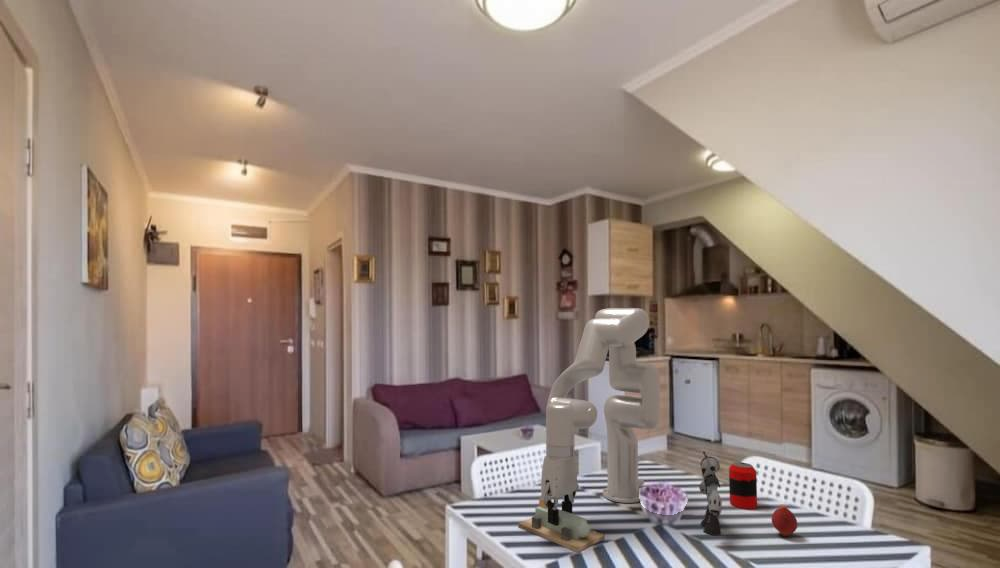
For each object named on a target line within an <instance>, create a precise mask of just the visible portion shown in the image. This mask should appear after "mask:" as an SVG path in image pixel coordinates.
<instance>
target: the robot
mask: <svg viewBox="0 0 1000 568" xmlns="http://www.w3.org/2000/svg"><path fill="white" fill-rule="evenodd" d="M703 456H704V458H703V459H702V460H701V461H700V463H699V465H700V469H701V477H702V478H703V480H702V481H701V482H700V484H699V489H698V490H699V491H700V493H701V494H704V495H706V499H707V505H706V510H705V513H704V518H703V519H702V520H701V521H700V525H701V527H703V531H702V533H704V534H707V535H709V536H720V535H721V534H722V530H721V528H722V527H721V523H720V520H719V518H718V517H720V516H721V513H722V504H723V501H722V498H721V496H720V493H718V488H721V485H720V481H719V479H718V477H717V475H716V473H717V472H719V470H721V469H720V468H721V467H720V462H719V461H718V459H716V458H715V457H713V456H708V455H707V454H706V452H705V451H703Z"/></svg>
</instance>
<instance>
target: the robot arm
mask: <svg viewBox="0 0 1000 568" xmlns="http://www.w3.org/2000/svg"><path fill="white" fill-rule="evenodd" d="M649 326H650V317H649V315H648V313H647V312H646V310H645V309H643V308H638V307H636V308H635V307H629V308H628V307H627V308H626V307H608V308H603V309H600V310H598V311H597V312H596V313H595V315H594V318H591V319H590V320H589V321H587V322H586V324H585V325H584V330H583V332H582V335H581V339H580V342H579V346H578V349H577V353H576V356H575V360H574V361H573V363H572V364H571V365H569V366H568V367H566V369H565V370H564V371H563V372H561V374H560V375H559V376H558V377H557V379H555V381H554V383H552V386H551V389H550V392H549V396H548V398H547V403H546V409H545V456H544V457H543V462H542V468H541V477H540V478H541V480H540V493H541V495H540V497H539V498H540V500H542V501H543V502H544V503H545V505H546V507H547V508H548V523H550V524H553V525H555V526H557V525H558V524H559V510H558V509H559V508H558V505H559V499H560V498H561V497H562V498H563V499H562V501H561V510H563V511H566V512H569V513H572V514H573V504H574V502H575V496H576V495H577V492H578V490H579V488H580V485H579V484H578V471H577V462H576V461H577V460H576V455H575V430H576V429H577V430H579V429H588V428H590V427H592V426H593V425H594V424H595V423H596V421H597V419H598V410H597V407H596V405H594V404H593V403H592V402H591V401H588V400H583V399H577V398H572V397H571V398H570V397H569V398H568V394H569V393H570V392H571V390H572V389H573V388H574V387H576V385H579V384H580V383H582V382H584V381H587V380H589V379H592V378H594V377H597V376H599V375H600V374H602V373H603V371H604V368H605V364H606V360H607V357H608V377H609V378H608V380H609V386H610V387H611V388H612V389H614V390H615V391H619V392H626V393H634V394H640V397H637V396H629V395H624V394H623V395H620V394H615V395H611V396H609V397H607V399H605V401H604V404H603V412H604V413H603V414H604V420H605V425H606V438H607V439H606V442H607V443H606V444H607V447H606V449H607V454H606V455H607V457H606V458H607V459H606V461H607V464H606V465H607V467H606V468H607V487H604V489H602V496H603V497H604V498H605V499H607V500H610V501H612V502H615V503H623V504H624V503H625V504H633V503H639V502H641V501H640V499H639V491H640V489H639V488H640V486H644V484H645V480H644V479H642V478H639V452H638V451H639V449H638V448H639V442H638V437H637V434H636V433H635V431H634V430H633V428H634V429H638V430H648V431H652V430H655V429H656V428H657V427H658V426H659V424H660V419H661V377H660V373H659V370H658V369H657V367H656V366H655V365H654V364H651V363H648V362H647V363H646V362H637V348H636V344H635V343H636V341H637V340H640V338H642V337H643V336H644V335H645V334H646V333H647V331H648V330H649ZM608 355H609V356H608ZM552 500H553V501H552ZM557 508H558V509H557Z"/></svg>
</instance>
